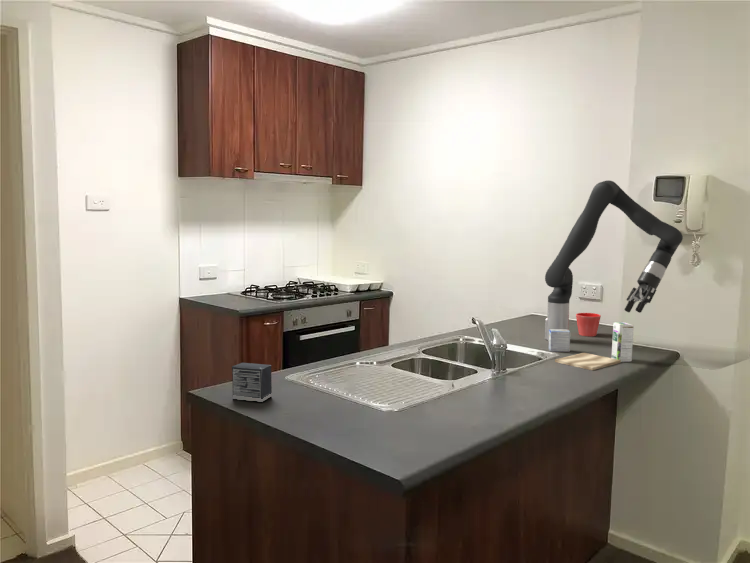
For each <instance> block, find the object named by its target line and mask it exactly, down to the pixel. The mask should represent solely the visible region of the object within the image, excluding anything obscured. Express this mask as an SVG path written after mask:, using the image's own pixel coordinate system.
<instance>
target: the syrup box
mask: <svg viewBox="0 0 750 563" xmlns="http://www.w3.org/2000/svg"><path fill="white" fill-rule="evenodd" d="M634 326H635V325H634V324H631V323H628V322H623V321H619V322H618V321H616V322H613V326H612V342H611V343H612V344H611V357H610V358H613V359H618V360H621V362H622V363H624V362H625V363H626V362H627V363H628V362H632V360H633V359H632V358H633V344H634V329H635V328H634Z"/></svg>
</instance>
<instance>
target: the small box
mask: <svg viewBox="0 0 750 563" xmlns="http://www.w3.org/2000/svg"><path fill="white" fill-rule="evenodd" d="M231 372H232V373H231V375H232V383H231V384H232V396H233V395H236V396H244V397H252V398H261V399H263V398H264V397H266V396H268V395H269V394H271V393H273V392H272V388H273V387H272V386H273V385H272V365H271V364H263V363H262V364H261V363H252V362H251V363H250V362H240V363H238V364H236V365H235V364H234V365H232V366H231Z"/></svg>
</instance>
